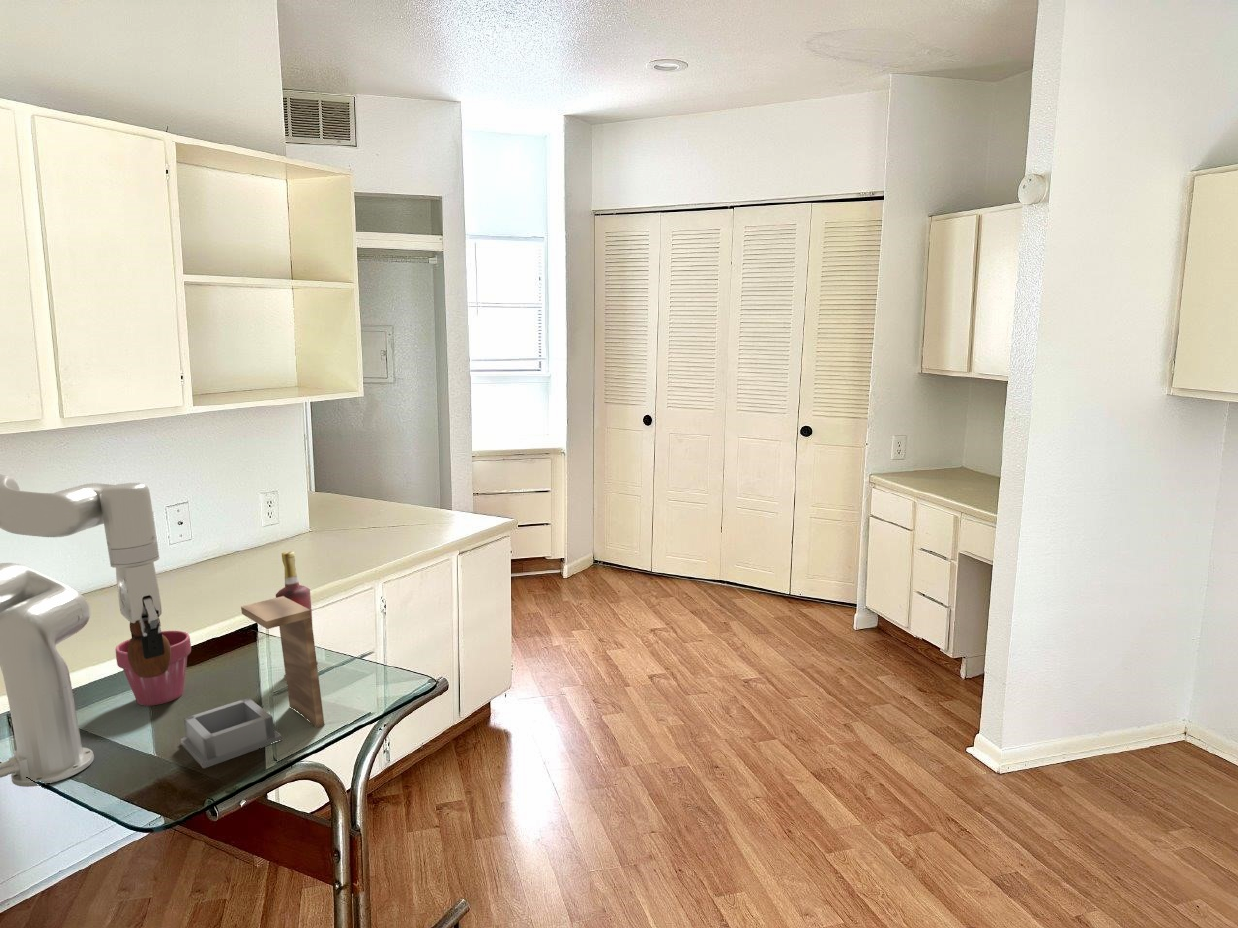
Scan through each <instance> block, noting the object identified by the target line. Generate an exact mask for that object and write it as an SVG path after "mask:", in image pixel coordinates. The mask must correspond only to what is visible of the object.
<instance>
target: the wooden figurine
mask: <svg viewBox="0 0 1238 928" xmlns="http://www.w3.org/2000/svg"><path fill="white" fill-rule="evenodd" d="M143 618H147V615H145V616H142V619H143ZM158 620H159V624H160V627H162V626H161V619H160V616H159V617H158ZM147 623H148V622H146V623H144V624H145V628H146V624H147ZM129 631H130V634H131V633H132V634H133V635H134V636H133V637H132V636H131V637H130V638H129V639H130V641H129V643H128V648H127V655H128V660H129V663H130V666H131V668H132V669H133V671H134V672H135V674H136V675H138V676H139V677H142V678H153V677H157V676H160V675H162V674H163V673H165V672H166V671H167V669H168V666H169V663H170V659H171V647H170V644H169V641H168V639H167V638H166V636H164V635H163V634H162V638H163V645H164V651H165V653H164V654H163V655H160V656H156V657H152V658H149V659H145V658H144V655H143V649H142V642H141V637H142V636H143V635H142V631H141V627H140V623H139V620H137V621H136V623H131V622H130V621H129Z"/></svg>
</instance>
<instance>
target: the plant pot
mask: <svg viewBox="0 0 1238 928" xmlns="http://www.w3.org/2000/svg"><path fill="white" fill-rule="evenodd" d="M161 632H162V634H163V635H164V636H166V638H167V639H168V641H169V644H170V647H171V659H170V663H169V666H168V669H167V671H166V672H165V673H163V674H162V675H160V676H157V677H153V678H142V677H139V676H138V675H136V674H135V672H134V671H133V669H132V668H131V666H130V663H129V660H128V655H127V648H128V643H129V641H130V639H131V638H129V639H127V640H125V641H123V642H121V643H119V644H118V645H116V647H115V659H116V665H117V667H118V668H120V669H123V673H124V675H125V677H126V679H127V682H128V684H129V687H130V688H131V691H132V693H133V696H134V698H135V700H136V703H137V704H138V705H141V706H149V707H150V706H157V705H162V704H166V703H169V702H172V701H175V700H176V699H178V698H180V697H182V695H183V694H184V691H185V682H186V674H187V673H186V672H187V665H188V663H187V662H188V656H189V655H190V654H191V652H192V644H191V637H190V635H189V633H187V632H186V631H181V630H163V631H162V630H161Z"/></svg>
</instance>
